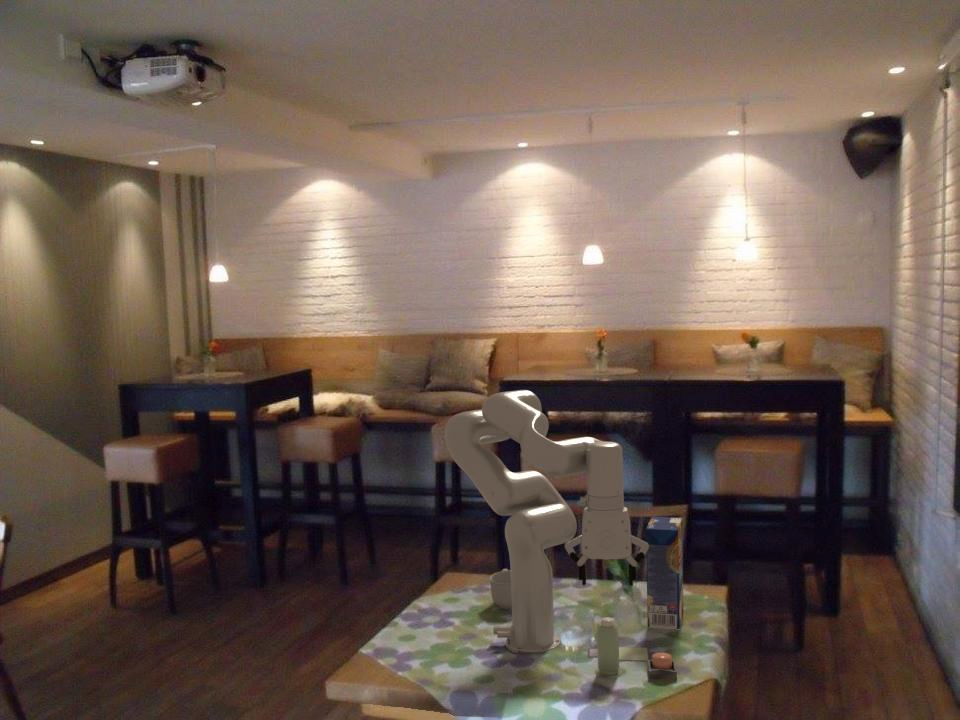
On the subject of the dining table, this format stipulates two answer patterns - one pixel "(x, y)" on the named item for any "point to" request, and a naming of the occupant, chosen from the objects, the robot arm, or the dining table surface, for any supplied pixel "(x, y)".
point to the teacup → (501, 588)
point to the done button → (662, 661)
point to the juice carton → (664, 572)
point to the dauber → (608, 647)
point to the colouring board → (638, 655)
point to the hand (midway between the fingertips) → (607, 583)
